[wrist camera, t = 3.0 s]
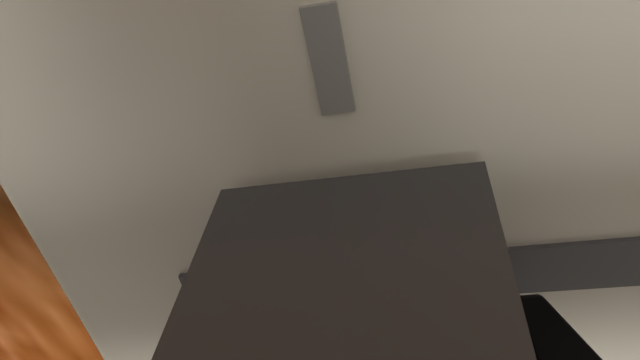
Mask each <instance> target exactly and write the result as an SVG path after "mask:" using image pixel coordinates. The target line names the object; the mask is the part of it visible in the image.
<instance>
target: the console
mask: <svg viewBox="0 0 640 360" xmlns="http://www.w3.org/2000/svg"><path fill="white" fill-rule="evenodd" d="M482 161H485V164H486V167H487V171H488V175H489V179H490V183H491V187H492V190H493V194H494V198H495V202H496V206H497V210H498V213H499V217H500V221H501V225H502V229H503V233H504V236H505V240H506V244H507V248H508V252H509V256H510V259H511V263H512V267H513V271H514V275H515V279H516V282H517V286H518V290H519V294H520V295H532V294H539V295H542V296H543V297H544V298H545V299H546V300H547V301H548V302H549V303H550V304H551V305H552V306H553V307H554V308H555V310H556V311H557V312H558V313H559V314H560V315H561V316H562V317H563V318H564V319H565V320H566V321H567V322H568V323H569V324H570V325H571V327H572V328H573V329H574V330H575V331H576V332H577V333H578V334H579V335H580V336H581V337H582V338H583V339H584V340H585V341H586V343H587V344H588V345H589V346H590V347H591V348H592V349H593V350H594V351H595V352H596V353H597V354H598V355H599V356H600V357H601V359H602V360H640V0H0V185H1V186H2V188H3V190H4V191H5V193H6V195H7V196H8V198H9V200H10V202H11V203H12V205H13V207H14V208H15V210H16V212H17V213H18V215H19V217H20V218H21V220H22V222H23V224H24V225H25V227H26V229H27V230H28V232H29V234H30V235H31V237H32V239H33V240H34V242H35V244H36V245H37V247H38V249H39V251H40V252H41V254H42V256H43V257H44V259H45V261H46V262H47V264H48V266H49V267H50V269H51V271H52V273H53V274H54V276H55V278H56V279H57V281H58V283H59V284H60V286H61V288H62V289H63V291H64V293H65V294H66V296H67V298H68V300H69V301H70V303H71V305H72V306H73V308H74V310H75V311H76V313H77V315H78V316H79V318H80V320H81V322H82V323H83V325H84V327H85V328H86V330H87V332H88V333H89V335H90V337H91V338H92V340H93V342H94V343H95V345H96V347H97V349H98V350H99V352H100V354H101V355H102V357H103V359H104V360H151V359H152V357H153V354H154V352H155V349H156V347H157V345H158V342H159V340H160V337H161V335H162V332H163V330H164V328H165V325H166V323H167V320H168V318H169V315H170V313H171V310H172V308H173V306H174V303H175V301H176V298H177V296H178V293H179V291H180V289H181V286H182V284H183V281H184V279H185V276H186V274H187V271H188V269H189V267H190V264H191V262H192V259H193V257H194V254H195V252H196V249H197V247H198V245H199V242H200V240H201V237H202V235H203V232H204V230H205V228H206V225H207V223H208V220H209V218H210V215H211V213H212V210H213V208H214V206H215V203H216V201H217V198H218V196H219V193H220V191H221V189H231V188H240V187H249V186H259V185H268V184H277V183H287V182H296V181H305V180H315V179H324V178H333V177H342V176H352V175H361V174H370V173H380V172H389V171H398V170H408V169H417V168H426V167H436V166H445V165H454V164H463V163H473V162H482Z"/></svg>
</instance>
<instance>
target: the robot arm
mask: <svg viewBox="0 0 640 360" xmlns="http://www.w3.org/2000/svg"><path fill="white" fill-rule="evenodd" d="M520 298H521V301H522V305H523V309H524V313H525V317H526V321H527V324H528V328H529V332H530V336H531V340H532V344H533V347H534V351H535V355H536V359H537V360H602V359H601V357H600V356H599V355H598V354H597V353H596V352H595V351H594V350H593V349H592V348H591V347H590V346H589V345H588V344H587V343H586V341H585V340H584V339H583V338H582V337H581V336H580V335H579V334H578V333H577V332H576V331H575V330H574V329H573V328H572V327H571V325H570V324H569V323H568V322H567V321H566V320H565V319H564V318H563V317H562V316H561V315H560V314H559V313H558V312H557V311H556V310H555V308H554V307H553V306H552V305H551V304H550V303H549V302H548V301H547V300H546V299H545V298H544V297H543V296H542V295H539V294H532V295H520Z"/></svg>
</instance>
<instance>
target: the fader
mask: <svg viewBox="0 0 640 360" xmlns="http://www.w3.org/2000/svg"><path fill="white" fill-rule="evenodd" d="M151 360H537V359H536V355H535V351H534V347H533V344H532V340H531V336H530V332H529V328H528V324H527V321H526V317H525V313H524V309H523V305H522V301H521V298H520V294H519V290H518V286H517V282H516V279H515V275H514V271H513V267H512V263H511V259H510V256H509V252H508V248H507V244H506V240H505V236H504V233H503V229H502V225H501V221H500V217H499V213H498V210H497V206H496V202H495V198H494V194H493V190H492V187H491V183H490V179H489V175H488V171H487V167H486V164H485V161H482V162H473V163H463V164H454V165H445V166H436V167H426V168H417V169H408V170H398V171H389V172H380V173H370V174H361V175H352V176H342V177H333V178H324V179H315V180H305V181H296V182H287V183H277V184H268V185H259V186H249V187H240V188H231V189H221V191H220V193H219V196H218V198H217V201H216V203H215V206H214V208H213V210H212V213H211V215H210V218H209V220H208V223H207V225H206V228H205V230H204V232H203V235H202V237H201V240H200V242H199V245H198V247H197V249H196V252H195V254H194V257H193V259H192V262H191V264H190V267H189V269H188V271H187V274H186V276H185V279H184V281H183V284H182V286H181V289H180V291H179V293H178V296H177V298H176V301H175V303H174V306H173V308H172V310H171V313H170V315H169V318H168V320H167V323H166V325H165V328H164V330H163V332H162V335H161V337H160V340H159V342H158V345H157V347H156V349H155V352H154V354H153V357H152V359H151Z"/></svg>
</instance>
